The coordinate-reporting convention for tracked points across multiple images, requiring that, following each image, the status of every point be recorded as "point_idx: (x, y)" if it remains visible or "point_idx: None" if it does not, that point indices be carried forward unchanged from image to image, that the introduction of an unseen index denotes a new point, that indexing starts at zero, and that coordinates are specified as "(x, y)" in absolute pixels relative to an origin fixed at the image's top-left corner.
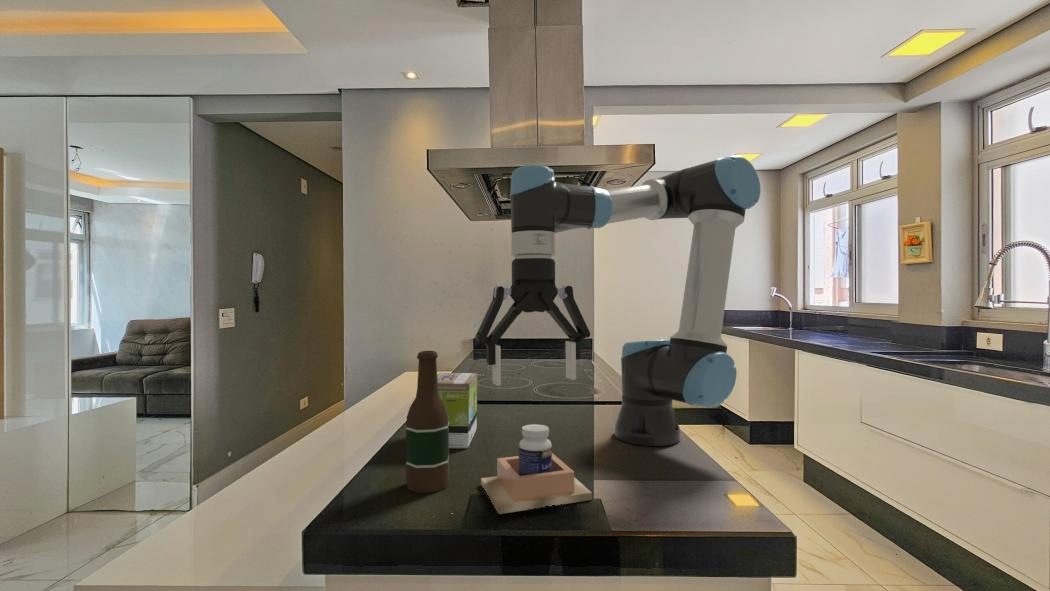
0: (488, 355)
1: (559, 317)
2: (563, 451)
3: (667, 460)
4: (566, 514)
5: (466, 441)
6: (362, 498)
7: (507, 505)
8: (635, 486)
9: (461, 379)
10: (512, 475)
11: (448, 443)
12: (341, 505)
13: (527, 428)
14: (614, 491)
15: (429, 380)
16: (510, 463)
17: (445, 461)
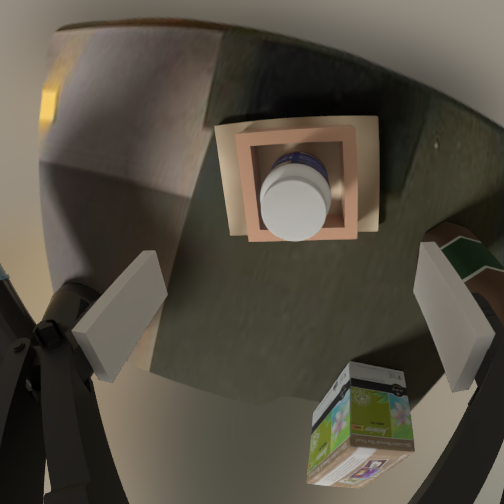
0: (496, 317)
1: (71, 452)
2: (209, 313)
3: (79, 238)
4: (272, 86)
5: (352, 368)
6: None
7: (363, 116)
8: (140, 159)
9: (353, 461)
10: (353, 148)
11: None
12: None
13: (314, 209)
14: (174, 148)
15: None
16: (334, 224)
17: (441, 248)
